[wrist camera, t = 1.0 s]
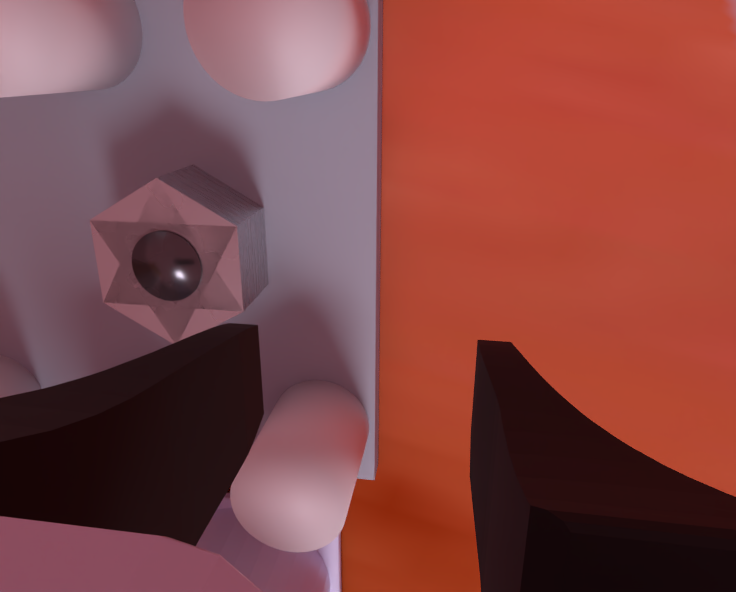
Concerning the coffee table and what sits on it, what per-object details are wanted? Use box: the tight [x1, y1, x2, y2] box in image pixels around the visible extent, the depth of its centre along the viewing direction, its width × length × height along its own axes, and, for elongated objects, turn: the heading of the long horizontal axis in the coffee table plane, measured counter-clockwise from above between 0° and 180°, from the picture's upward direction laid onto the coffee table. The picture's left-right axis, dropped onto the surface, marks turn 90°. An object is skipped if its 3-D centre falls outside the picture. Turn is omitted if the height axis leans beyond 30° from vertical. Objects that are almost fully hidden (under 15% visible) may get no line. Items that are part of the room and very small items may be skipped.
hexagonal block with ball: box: [90, 164, 269, 343], centre depth 19 cm, size 5×5×3 cm
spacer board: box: [0, 0, 383, 552], centre depth 20 cm, size 18×23×6 cm
